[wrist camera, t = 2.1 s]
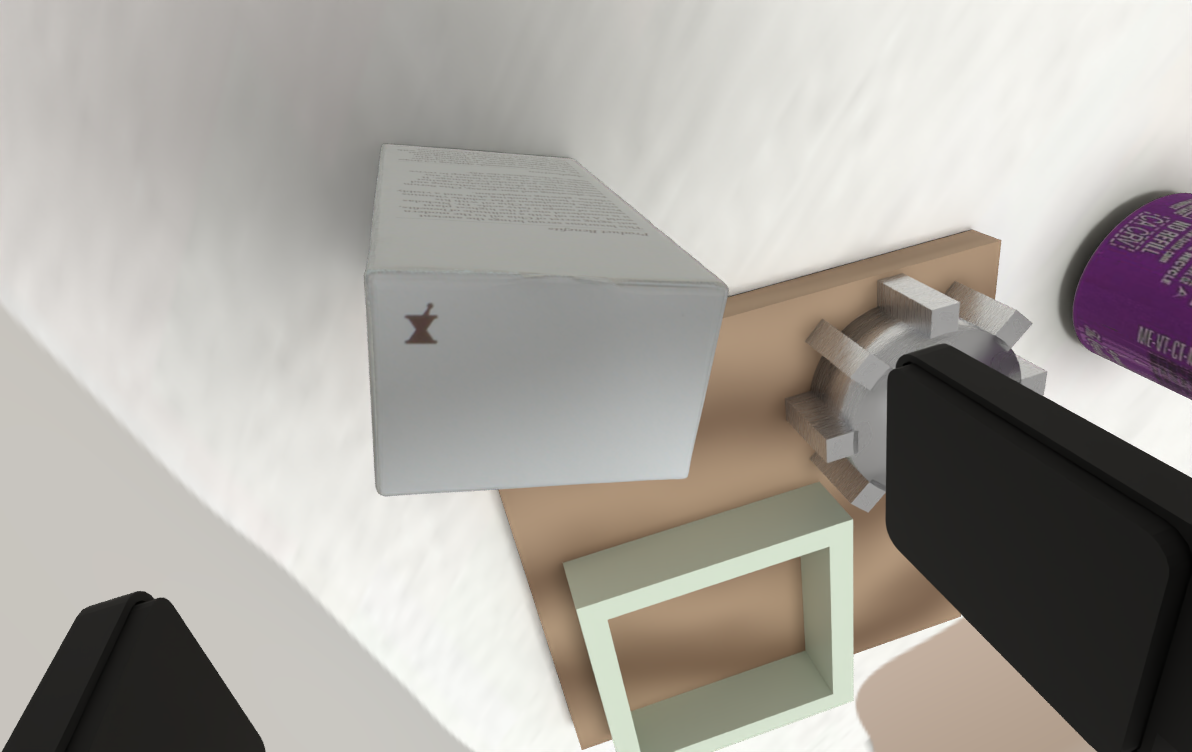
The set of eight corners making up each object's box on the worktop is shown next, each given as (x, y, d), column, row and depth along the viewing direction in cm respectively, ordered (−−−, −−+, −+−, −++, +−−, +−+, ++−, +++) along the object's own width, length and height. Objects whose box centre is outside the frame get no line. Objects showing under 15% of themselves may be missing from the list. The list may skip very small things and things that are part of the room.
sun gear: (779, 307, 24) (837, 352, 21) (995, 246, 26) (1083, 280, 22) (790, 496, 29) (840, 558, 25) (976, 437, 30) (1047, 489, 26)
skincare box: (382, 279, 22) (363, 504, 12) (380, 139, 20) (355, 261, 10) (568, 284, 24) (694, 488, 13) (581, 156, 22) (737, 276, 12)
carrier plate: (463, 370, 24) (466, 390, 23) (972, 229, 27) (1001, 240, 25) (575, 722, 34) (581, 749, 33) (941, 595, 36) (960, 616, 35)
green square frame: (562, 563, 27) (576, 609, 25) (819, 481, 29) (853, 519, 27) (610, 732, 33) (625, 783, 30) (824, 657, 34) (853, 700, 32)
